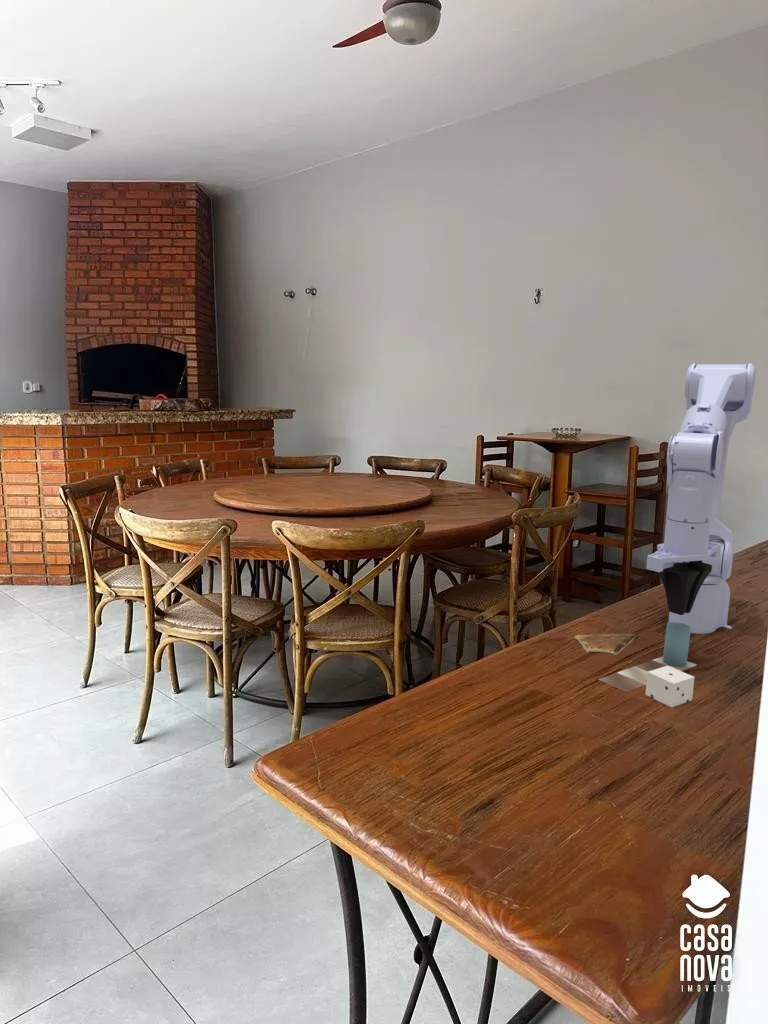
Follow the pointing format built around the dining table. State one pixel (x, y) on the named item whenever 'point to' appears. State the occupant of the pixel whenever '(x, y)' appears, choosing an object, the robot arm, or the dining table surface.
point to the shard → (605, 642)
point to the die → (669, 686)
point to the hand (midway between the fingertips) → (679, 612)
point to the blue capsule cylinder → (676, 644)
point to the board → (638, 674)
